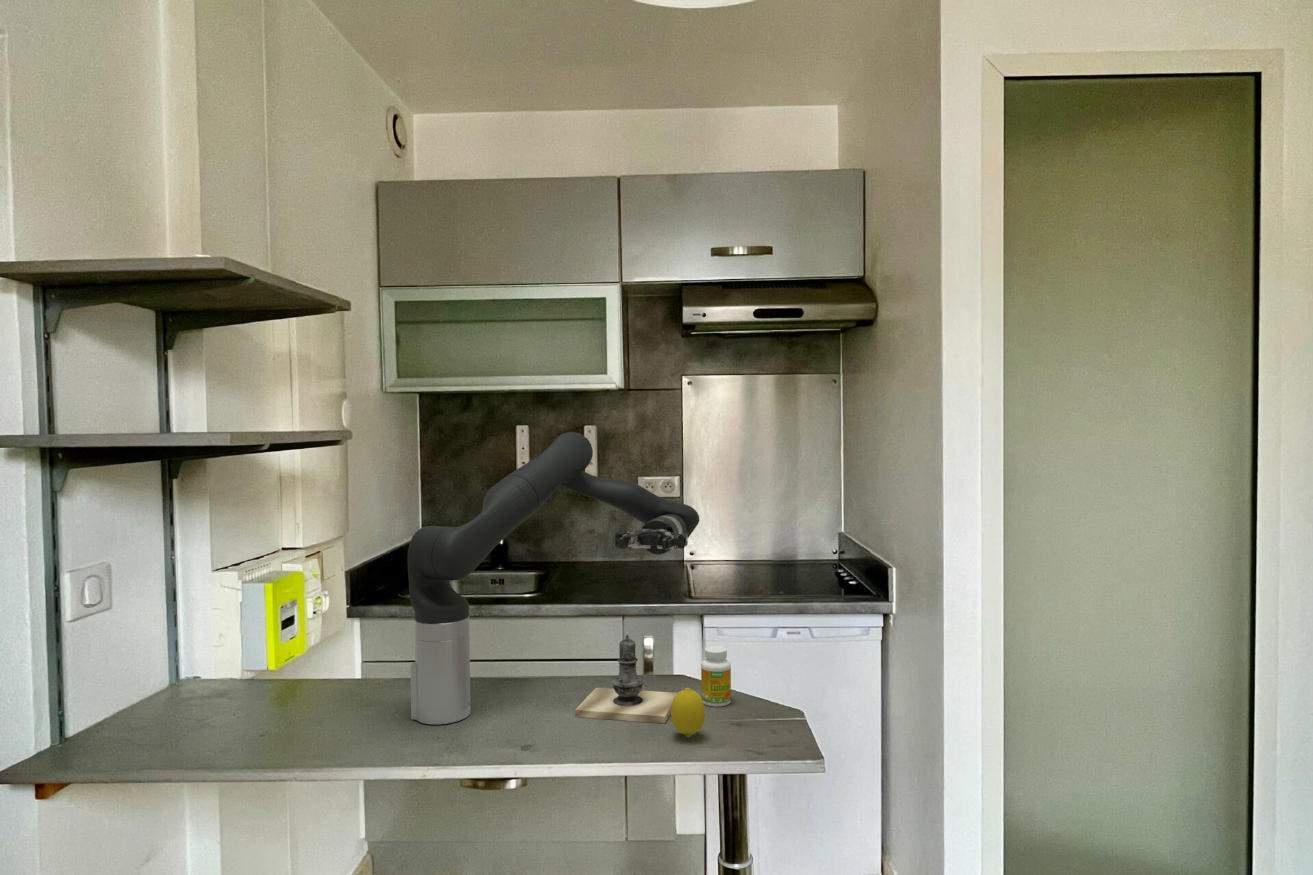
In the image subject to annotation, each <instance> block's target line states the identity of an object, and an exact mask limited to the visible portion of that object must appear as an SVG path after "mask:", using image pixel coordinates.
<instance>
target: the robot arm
mask: <svg viewBox="0 0 1313 875" xmlns="http://www.w3.org/2000/svg"><path fill="white" fill-rule="evenodd" d="M593 454H594V451H593V447H592V443H591V442H590V440H589V439H588V438H587V437H586V435H585V436H584V435H583V434H581V433H578V432H575V431H568V432H564V433H562V434H560V435H558V436H557V437H556V438H555V440H554V441H552V443H551V444H550V445H549V446H548V447H547V448H546V449H545V450H543V452H542V453H540V454H539V455H538V456H536V457H535V458H533V459H531V460H529V461H528V462H527V463H525V464H523V465H522V466H520V467H519V468H517V469H515V470H514V471H512V472H511V473H509V474H508V475H506V476H505V477H503V478H502V479H501V480H500V481H498V482H497V483H495V484H494V485H493V486H492V487H490V489H489V490H488V491H487V492H486V494H485V495H484V499H483V501H482V508H481V512H480V513H479V514H478V515H477V516H476V517H474V518H473V519H471V520H470V521H468V522H467V523H464V524H463V525H460V526H439V525H438V526H437V525H428V526H423V527H420V528H419V529H418V530H416V531H415V532H414V534H413V535H412V537H411V539H410V542H409V544H408V550H407V574H408V588H409V592H408V593H409V600H410V604H411V607H412V609H413V611H414V639H415V640H414V642H415V644H414V645H415V646H414V647H415V661H414V662H412V663H411V664H410V720H416V721H417V722H420V723H422V724H425V725H447V724H452V723H456V722H459V721H462V720H464V719H466V718H467V717H469V716H470V715H471V703H472V702H471V660H470V659H471V654H470V653H471V652H470V650H471V649H470V647H471V645H470V642H471V641H470V639H471V638H470V637H471V636H470V604H469V601H468V599H467V598H466V597H464V596H462V595H461V594H459V593H458V592H457V591H456V590H455V589H454V588H453V587H452V585H451V582H453V581H459V580H462V579H464V578H466V577H468V576H469V575H471V574H472V572H474V571H475V570H476V569H477V568H478V567H479V566H480V564H482V562H483V561H484V560H485V559H486V558H487V557H488V555H490V553H491V552H492V551H493V550H494V549H495V548H496V547H497V546H498V545H499V544H500V543H501V542H502V541H503V540H504V539H505V538H507V537H508V536H509V535H510V534H511V533H512V532H513V531H514V530H516V528H518V527H519V526H520V525H521V524H523V523H524V522H525V521H527V520H528V519H529V518H530V517H532V515H534V513H536V512H537V511H538V510H539V509H540V508H541V507H542V506H543V505H544V504H545V502H547V500H548V499H549V498H550V497H551V496H552V495H553V494H554V492H555V491H556V490H557V489H558V487H559V486H560V487H561V488H564V489H568V490H571V491H573V492H576V493H578V494H580V495H583V496H585V497H588V498H592V499H594V500H597V501H600V502H602V503H605V504H606V505H610V506H611V507H614V508H616V509H618V510H620V511H621V512H624V513H625V514H627V515H628V516H630V517H633V518H634V519H636V520H637V521H639V522H641V523H643V526H642V528H641V529H639V530H632V531H631V532H630V531H629V530H623V531H621V532H618V533H614V546H615V547H617V548H619V549H620V550H625V549H627V548H629V547H630V548H632V549H644V550H646V551H647V552H648V553H649V554H652V555H658V556H661V555H664V554H666V553H668V552H670V551H671V550H673V549H680V550H682V549H685V548H686V547H687V546H688V543H689V542H688V541H689V540H688V539H689V538H690V537H691V535H692V534H693V532H694V531H695V529H696V528H697V527H698V525H699V523H700V516H699V513H698V511H697V510H696V509H695V508H694V507H692V506H691V505H688V504H685V503H683V502H677V501H672V500H671V499H670V500H669V499H666V498H664V497H660V496H658V495H656V494H655V493H654V492H652V491H650V490H648V489H646V488H644V487H643V486H641V485H639V484H637V483H635V482H631V481H628V480H627V481H626V480H620V479H612V478H611V479H610V478H603V477H600V476H596V475H594V474H593V475H592V474H591V473H588V472H587V471H585V470H586V469H587V467H589V465H590V463H591V461H592V460H593ZM450 581H451V582H450Z"/></svg>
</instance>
